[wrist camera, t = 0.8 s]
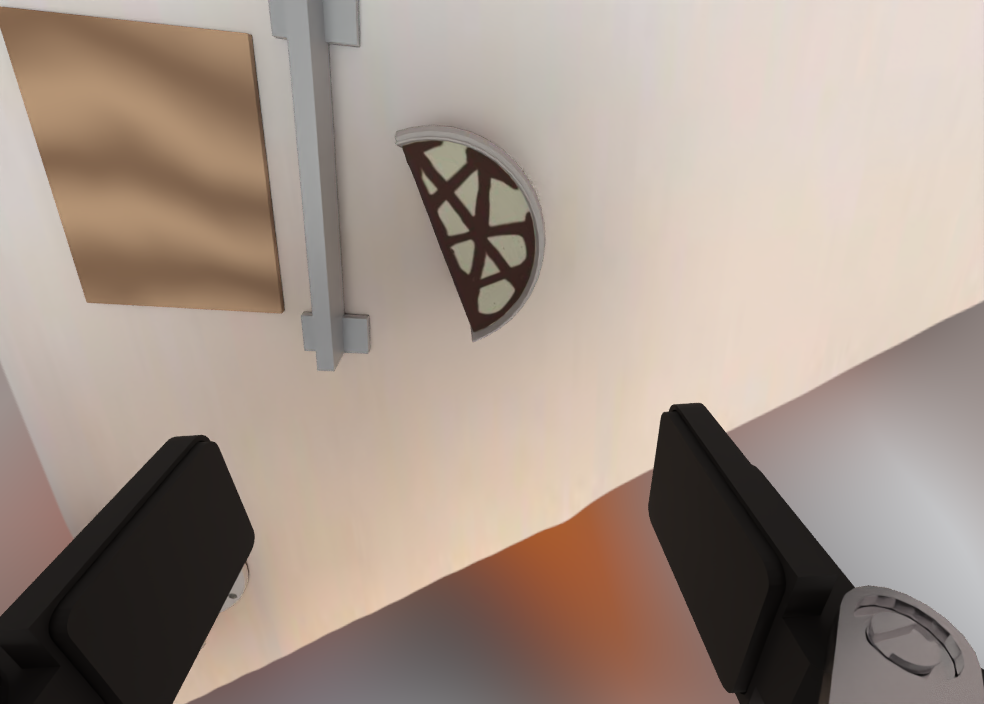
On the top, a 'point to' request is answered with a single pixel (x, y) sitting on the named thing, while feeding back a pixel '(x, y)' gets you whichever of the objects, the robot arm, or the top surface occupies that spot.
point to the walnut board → (152, 158)
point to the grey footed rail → (320, 167)
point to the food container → (479, 220)
